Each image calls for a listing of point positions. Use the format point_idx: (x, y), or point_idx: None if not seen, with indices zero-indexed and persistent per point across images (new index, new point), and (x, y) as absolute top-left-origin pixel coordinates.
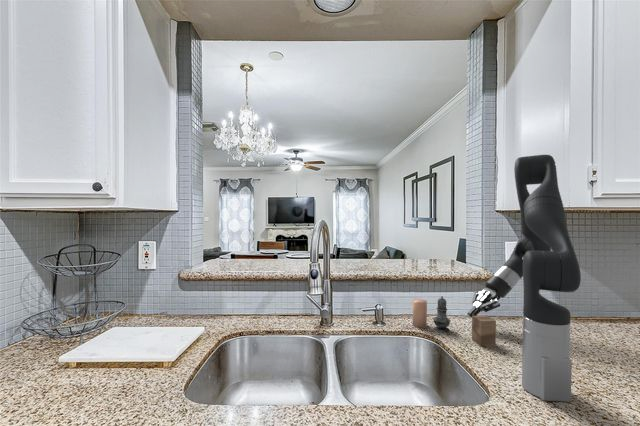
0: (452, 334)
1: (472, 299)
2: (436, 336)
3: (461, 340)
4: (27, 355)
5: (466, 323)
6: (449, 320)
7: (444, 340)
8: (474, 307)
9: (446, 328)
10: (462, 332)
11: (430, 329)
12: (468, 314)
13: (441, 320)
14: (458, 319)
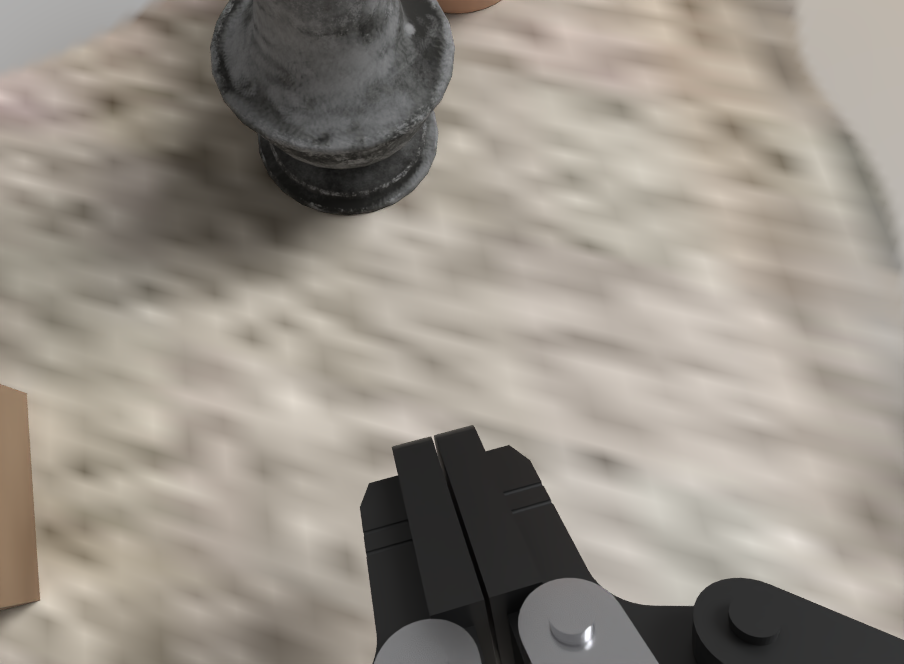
0: (200, 214)
1: (892, 640)
2: (131, 43)
3: (11, 266)
4: None
5: (645, 502)
6: (292, 129)
7: (17, 93)
8: (464, 576)
9: (341, 173)
10: (277, 349)
11: None
12: (437, 438)
13: (245, 14)
14: (789, 430)
